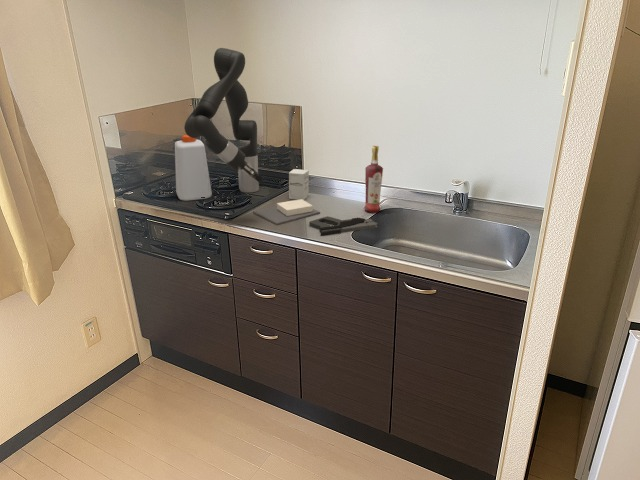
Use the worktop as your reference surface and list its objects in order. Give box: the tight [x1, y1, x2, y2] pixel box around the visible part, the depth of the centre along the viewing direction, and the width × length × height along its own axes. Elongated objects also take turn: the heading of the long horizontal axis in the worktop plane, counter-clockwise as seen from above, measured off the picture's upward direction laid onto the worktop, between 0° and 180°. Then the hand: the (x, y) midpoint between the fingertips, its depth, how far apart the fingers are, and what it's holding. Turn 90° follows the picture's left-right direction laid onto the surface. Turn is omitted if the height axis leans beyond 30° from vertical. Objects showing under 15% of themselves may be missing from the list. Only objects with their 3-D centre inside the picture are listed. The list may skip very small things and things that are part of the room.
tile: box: [276, 199, 314, 216], centre depth 214 cm, size 10×3×12 cm
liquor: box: [363, 145, 384, 214], centre depth 212 cm, size 7×7×28 cm
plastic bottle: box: [174, 134, 213, 202], centre depth 230 cm, size 15×15×28 cm
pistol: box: [308, 216, 379, 237], centre depth 201 cm, size 2×26×15 cm
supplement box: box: [288, 168, 310, 201], centre depth 231 cm, size 7×7×13 cm
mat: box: [252, 205, 321, 226], centre depth 214 cm, size 18×22×1 cm
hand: (261, 180), depth 203 cm, fingers closed
